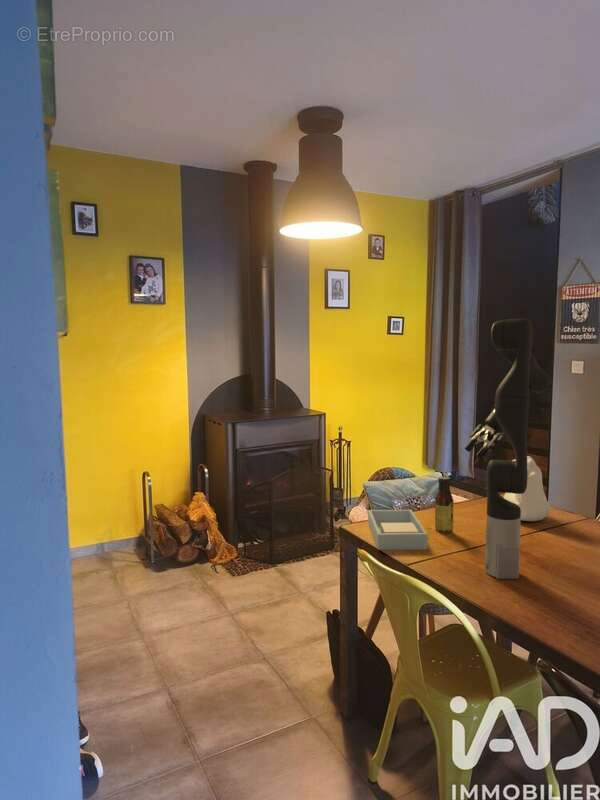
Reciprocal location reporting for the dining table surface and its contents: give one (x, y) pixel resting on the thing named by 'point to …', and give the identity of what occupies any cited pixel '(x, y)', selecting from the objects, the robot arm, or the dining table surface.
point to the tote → (396, 539)
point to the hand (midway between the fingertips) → (472, 454)
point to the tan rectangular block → (398, 528)
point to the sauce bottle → (444, 507)
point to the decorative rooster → (531, 495)
